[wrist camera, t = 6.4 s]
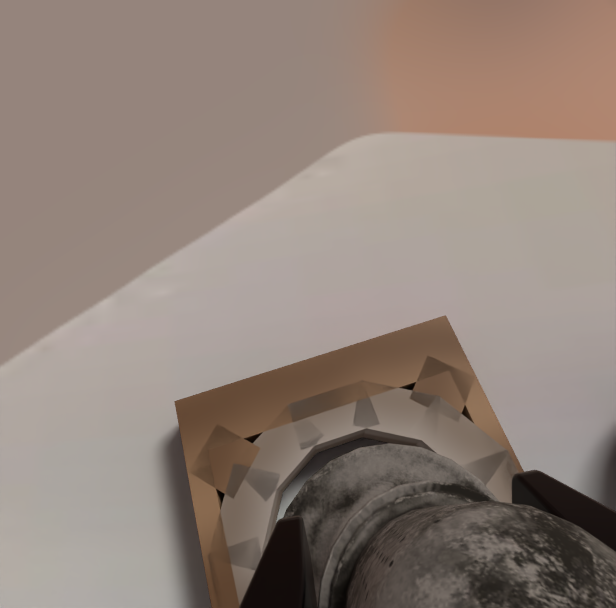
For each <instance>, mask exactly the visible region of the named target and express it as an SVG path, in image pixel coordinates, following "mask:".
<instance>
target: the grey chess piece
mask: <svg viewBox="0 0 616 608" xmlns="http://www.w3.org/2000/svg"><path fill="white" fill-rule="evenodd" d="M293 516H301V517H302V518H303V521H304V526H305V530H306V535H307V540H308V545H309V550H310V555H311V561H312V568H313V576H314V583H315V591H316V599H317V606H318V608H616V552H615V551H614V550H612V549H611V548H610V547H608V546H607V545H605V544H604V543H602V542H601V541H600V540H598V539H597V538H595V537H594V536H592V535H591V534H590V533H588V532H587V531H585V530H584V529H582V528H581V527H579V526H577V525H575V524H573V523H571V522H569V521H567V520H564V519H562V518H559V517H557V516H554V515H552V514H549V513H547V512H544V511H542V510H539V509H537V508H534V507H532V506H529V505H522V504H514V503H506V502H500V501H499V500H498V499H497V498H496V497H495V496H494V495H493V493H492V492H491V491H490V490H489V489H488V488H487V487H486V486H485V485H484V483H483V482H482V481H481V480H480V479H479V478H477V477H476V476H474V475H473V474H471V473H470V472H469V471H467V470H466V469H464V468H463V467H462V466H460V465H459V464H457V463H456V462H455V461H453V460H452V459H450V458H447V457H444V456H442V455H439V454H437V453H434V452H432V451H429V450H427V449H424V448H422V447H416V446H408V445H400V444H392V443H388V444H381V445H374V446H368V447H361V448H358V449H355V450H353V451H351V452H349V453H347V454H344V455H342V456H340V457H338V458H335V459H333V460H331V461H330V462H329V463H327V464H326V465H325V466H324V467H323V468H321V469H320V470H319V471H318V472H317V473H316V474H314V475H313V476H312V477H311V478H310V479H308V480H307V481H306V482H305V484H304V485H303V487H302V488H301V490H300V491H299V492H298V494H297V495H296V497H295V498H294V499H293V501H292V502H291V504H290V505H289V507H288V508H287V510H286V512H285V515H284V517H283V518H287V517H293Z"/></svg>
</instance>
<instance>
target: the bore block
mask: <svg viewBox="0 0 616 608" xmlns="http://www.w3.org/2000/svg"><path fill="white" fill-rule="evenodd" d="M175 406H176V412H177V417H178V423H179V429H180V434H181V440H182V445H183V451H184V456H185V462H186V468H187V473H188V479H189V484H190V490H191V495H192V501H193V507H194V512H195V518H196V523H197V529H198V534H199V540H200V546H201V551H202V557H203V562H204V568H205V573H206V579H207V584H208V590H209V596H210V601H211V607H212V608H239V606H240V604H241V602H242V599H243V597H244V595H245V593H246V590H247V588H248V586H249V583H250V581H251V579H252V577H253V574H254V572H255V570H256V568H257V565H258V563H259V561H260V559H261V556H262V554H263V552H264V550H265V547H266V545H267V543H268V541H269V538H270V536H271V534H272V532H273V529H274V527H275V524H276V520H277V515H278V511H279V506H280V502H281V498H282V493H283V491H284V490H285V489H286V488H287V487H288V485H289V484H290V483H291V482H292V481H293V480H294V479H295V477H296V476H297V475H298V474H299V473H300V472H301V470H302V469H303V468H304V467H305V466H306V465H307V463H308V462H309V461H310V460H311V459H312V458H313V456H314V455H315V454H316V453H318V452H321V451H324V450H327V449H330V448H333V447H336V446H338V445H341V444H344V443H347V442H350V441H353V440H356V439H359V438H362V437H364V438H368V439H373V440H377V441H382V442H387V443H392V444H400V445H408V446H416V447H422V448H424V449H427V450H429V451H432V452H434V453H437V454H439V455H442V456H444V457H447V458H450V459H452V460H453V461H455V462H456V463H457V464H459V465H460V466H462V467H463V468H464V469H466V470H467V471H469V472H470V473H471V474H473V475H474V476H476V477H477V478H479V479H480V480H481V481H482V482H483V483H484V485H485V486H486V487H487V488H488V489H489V490H490V491H491V492H492V493H493V495H494V496H495V497H496V498H497V499H498V500H499V501H500V502H506V503H512V477H513V476H514V475H515V474H516V473H521V472H524V471H523V469H522V467H521V465H520V463H519V461H518V459H517V457H516V455H515V453H514V451H513V449H512V447H511V445H510V443H509V441H508V439H507V437H506V435H505V433H504V431H503V429H502V427H501V425H500V423H499V421H498V419H497V417H496V415H495V413H494V411H493V409H492V407H491V405H490V403H489V401H488V399H487V397H486V395H485V393H484V391H483V389H482V387H481V385H480V383H479V381H478V379H477V377H476V375H475V373H474V371H473V369H472V367H471V365H470V363H469V361H468V359H467V357H466V355H465V353H464V351H463V349H462V347H461V345H460V343H459V341H458V339H457V337H456V335H455V333H454V331H453V329H452V327H451V325H450V323H449V321H448V319H447V317H446V315H445V316H442V317H439V318H436V319H433V320H430V321H426V322H423V323H420V324H417V325H414V326H411V327H408V328H404V329H401V330H398V331H395V332H392V333H389V334H385V335H382V336H379V337H376V338H373V339H370V340H367V341H363V342H360V343H357V344H354V345H351V346H348V347H344V348H341V349H338V350H335V351H332V352H329V353H326V354H322V355H319V356H316V357H313V358H310V359H307V360H303V361H300V362H297V363H294V364H291V365H288V366H284V367H281V368H278V369H275V370H272V371H269V372H266V373H262V374H259V375H256V376H253V377H250V378H247V379H243V380H240V381H237V382H234V383H231V384H228V385H225V386H221V387H218V388H215V389H212V390H209V391H206V392H202V393H199V394H196V395H193V396H190V397H187V398H184V399H180V400H177V401H175Z"/></svg>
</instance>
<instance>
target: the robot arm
mask: <svg viewBox="0 0 616 608" xmlns="http://www.w3.org/2000/svg"><path fill="white" fill-rule="evenodd" d="M512 503H514V504H522V505H529V506H532V507H534V508H537V509H539V510H542V511H544V512H547V513H549V514H552V515H554V516H557V517H559V518H562V519H564V520H567V521H569V522H571V523H573V524H575V525H577V526H579V527H581V528H582V529H584V530H585V531H587V532H588V533H590V534H591V535H592V536H594V537H595V538H597V539H598V540H600V541H601V542H602V543H604V544H605V545H607V546H608V547H610V548H611V549H612V550H614V551H615V552H616V512H615V511H614V510H612V509H610V508H608V507H606V506H604V505H602V504H601V503H599V502H597V501H595V500H593V499H591V498H589V497H588V496H586V495H584V494H582V493H580V492H578V491H576V490H574V489H573V488H571V487H569V486H567V485H565V484H563V483H561V482H560V481H558V480H556V479H554V478H552V477H550V476H548V475H546V474H545V473H543V472H541V471H538V470H531V471H526V472H521V473H516V474H515V475H514V476H513V477H512ZM239 608H318V606H317V599H316V591H315V583H314V576H313V568H312V561H311V555H310V550H309V545H308V540H307V535H306V530H305V526H304V521H303V518H302V517H301V516H293V517H287V518H282V519H280V520H278V521H277V523H276V525H275V527H274V529H273V532H272V534H271V536H270V538H269V541H268V543H267V545H266V547H265V550H264V552H263V554H262V556H261V559H260V561H259V563H258V565H257V568H256V570H255V572H254V574H253V577H252V579H251V581H250V583H249V586H248V588H247V590H246V593H245V595H244V597H243V599H242V602H241V604H240V606H239Z"/></svg>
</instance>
